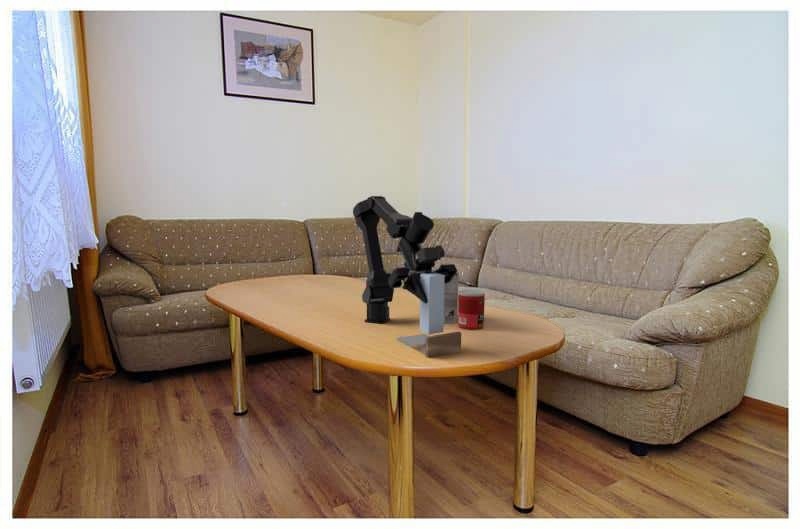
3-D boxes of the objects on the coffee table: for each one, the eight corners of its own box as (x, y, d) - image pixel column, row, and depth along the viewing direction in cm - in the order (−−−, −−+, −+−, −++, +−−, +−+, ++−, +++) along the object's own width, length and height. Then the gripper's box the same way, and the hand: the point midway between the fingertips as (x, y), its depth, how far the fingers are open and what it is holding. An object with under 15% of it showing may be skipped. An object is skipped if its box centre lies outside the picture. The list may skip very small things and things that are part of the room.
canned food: (483, 330, 140) (484, 294, 139) (456, 329, 142) (457, 293, 141) (484, 324, 148) (485, 290, 146) (458, 323, 149) (459, 289, 148)
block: (419, 330, 124) (420, 273, 122) (434, 327, 126) (435, 272, 124) (428, 334, 120) (429, 276, 118) (443, 332, 122) (444, 275, 120)
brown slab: (410, 348, 123) (410, 329, 123) (442, 342, 128) (442, 325, 127) (427, 357, 116) (428, 337, 115) (461, 351, 120) (461, 332, 120)
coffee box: (433, 316, 158) (434, 269, 156) (452, 316, 159) (453, 269, 157) (438, 323, 149) (438, 273, 147) (458, 322, 150) (458, 272, 148)
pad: (396, 339, 132) (396, 337, 131) (423, 335, 136) (423, 333, 136) (412, 347, 124) (412, 346, 124) (440, 343, 128) (440, 341, 128)
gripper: (393, 236, 119) (414, 286, 111) (454, 234, 128) (478, 280, 119) (379, 263, 127) (398, 312, 119) (438, 259, 136) (459, 304, 127)
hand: (434, 301), depth 121 cm, fingers closed on block, 4 cm apart
